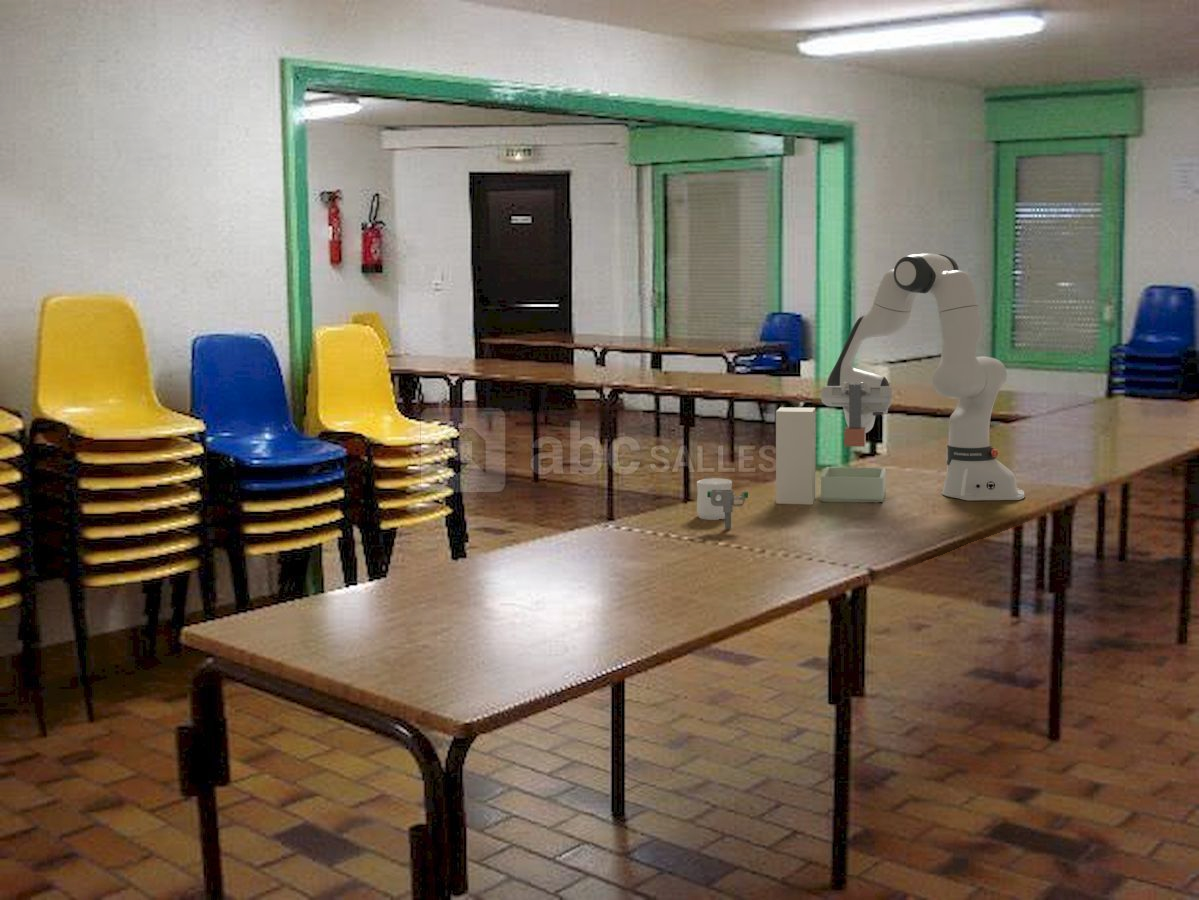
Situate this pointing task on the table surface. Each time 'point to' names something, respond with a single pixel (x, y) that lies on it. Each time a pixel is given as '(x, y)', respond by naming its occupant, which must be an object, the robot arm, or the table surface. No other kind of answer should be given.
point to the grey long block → (855, 419)
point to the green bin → (853, 484)
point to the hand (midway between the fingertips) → (854, 384)
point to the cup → (704, 502)
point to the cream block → (795, 455)
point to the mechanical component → (726, 502)
